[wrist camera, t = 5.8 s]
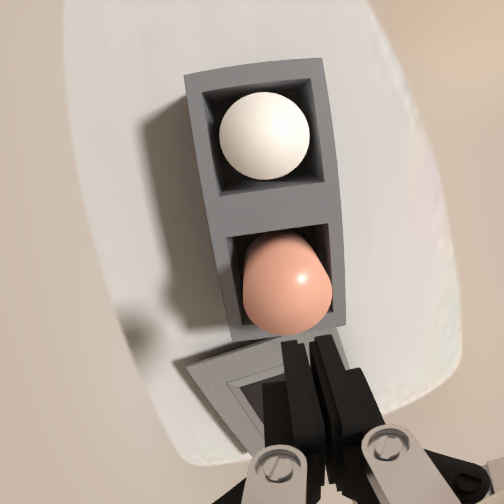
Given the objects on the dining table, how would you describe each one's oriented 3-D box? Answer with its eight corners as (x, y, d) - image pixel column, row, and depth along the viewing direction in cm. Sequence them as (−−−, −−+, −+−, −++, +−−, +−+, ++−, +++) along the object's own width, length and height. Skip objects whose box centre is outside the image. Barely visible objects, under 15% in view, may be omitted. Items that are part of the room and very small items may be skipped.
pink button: (238, 235, 17) (235, 262, 14) (312, 224, 17) (329, 249, 14) (249, 300, 19) (250, 340, 15) (317, 291, 19) (333, 327, 15)
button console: (196, 88, 17) (183, 75, 13) (306, 73, 16) (321, 57, 13) (234, 307, 21) (232, 342, 18) (330, 293, 21) (345, 325, 17)
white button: (220, 108, 17) (213, 99, 13) (291, 98, 17) (302, 87, 13) (231, 176, 18) (227, 185, 14) (300, 166, 18) (314, 173, 14)
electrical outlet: (361, 412, 26) (368, 430, 24) (256, 445, 27) (257, 464, 25) (325, 301, 22) (333, 319, 20) (189, 350, 23) (184, 370, 21)
